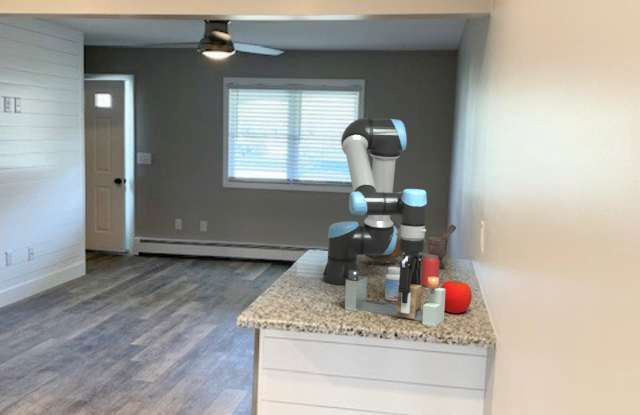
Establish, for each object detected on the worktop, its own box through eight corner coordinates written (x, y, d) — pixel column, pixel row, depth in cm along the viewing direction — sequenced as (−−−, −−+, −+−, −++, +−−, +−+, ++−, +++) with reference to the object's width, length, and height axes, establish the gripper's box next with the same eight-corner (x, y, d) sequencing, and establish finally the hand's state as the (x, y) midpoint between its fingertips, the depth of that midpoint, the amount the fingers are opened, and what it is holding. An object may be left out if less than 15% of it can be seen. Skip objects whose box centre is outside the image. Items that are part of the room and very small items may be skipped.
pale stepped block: (422, 324, 185) (424, 292, 184) (431, 317, 192) (433, 286, 191) (434, 326, 183) (436, 294, 182) (443, 319, 190) (445, 288, 189)
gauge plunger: (425, 293, 184) (426, 277, 183) (429, 291, 187) (429, 275, 186) (436, 295, 182) (436, 279, 182) (439, 293, 185) (440, 277, 185)
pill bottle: (397, 302, 209) (398, 270, 208) (381, 299, 213) (383, 268, 211) (404, 298, 214) (406, 267, 213) (389, 296, 218) (390, 265, 216)
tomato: (441, 306, 207) (442, 275, 205) (472, 310, 203) (474, 278, 201) (434, 313, 197) (436, 281, 196) (467, 318, 193) (469, 285, 192)
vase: (368, 257, 288) (370, 195, 285) (408, 261, 281) (411, 198, 278) (354, 266, 266) (357, 199, 263) (397, 271, 260) (400, 202, 257)
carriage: (396, 315, 191) (397, 286, 190) (402, 311, 195) (404, 282, 194) (414, 318, 188) (415, 288, 187) (420, 314, 193) (421, 285, 191)
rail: (344, 309, 198) (346, 270, 197) (355, 304, 205) (356, 266, 204) (422, 323, 185) (424, 282, 184) (431, 317, 192) (433, 277, 191)
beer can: (438, 288, 231) (439, 257, 230) (420, 287, 232) (422, 256, 231) (438, 284, 238) (439, 254, 236) (421, 283, 239) (422, 253, 238)
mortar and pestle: (451, 265, 275) (453, 222, 273) (454, 270, 266) (457, 225, 264) (425, 264, 276) (428, 221, 273) (428, 268, 267) (430, 224, 265)
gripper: (412, 243, 179) (409, 319, 182) (433, 236, 195) (429, 305, 198) (389, 241, 183) (386, 315, 185) (411, 233, 199) (408, 302, 201)
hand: (408, 310), depth 191 cm, fingers closed on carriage, 5 cm apart
